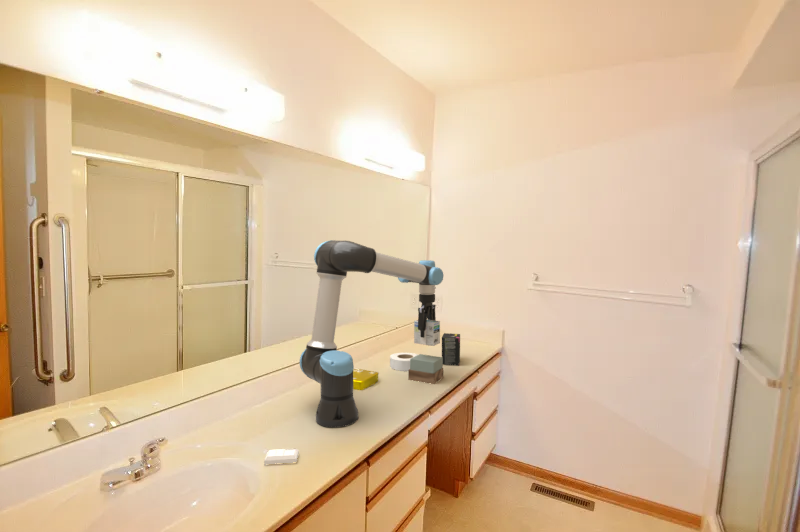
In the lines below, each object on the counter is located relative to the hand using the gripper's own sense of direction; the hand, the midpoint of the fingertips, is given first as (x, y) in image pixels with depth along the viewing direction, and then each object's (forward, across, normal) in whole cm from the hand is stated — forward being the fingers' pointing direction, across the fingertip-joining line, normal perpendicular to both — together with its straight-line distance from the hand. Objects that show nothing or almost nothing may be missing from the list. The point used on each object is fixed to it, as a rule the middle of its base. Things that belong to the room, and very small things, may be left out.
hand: (426, 342), depth 189 cm
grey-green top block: (+12, -1, 0) cm, 12 cm away
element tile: (+18, -22, +24) cm, 37 cm away
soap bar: (+17, -86, +4) cm, 88 cm away
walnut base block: (+17, -1, 0) cm, 17 cm away
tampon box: (+17, +29, 0) cm, 34 cm away
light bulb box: (+1, 0, 0) cm, 1 cm away
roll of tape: (+18, +10, +18) cm, 27 cm away
